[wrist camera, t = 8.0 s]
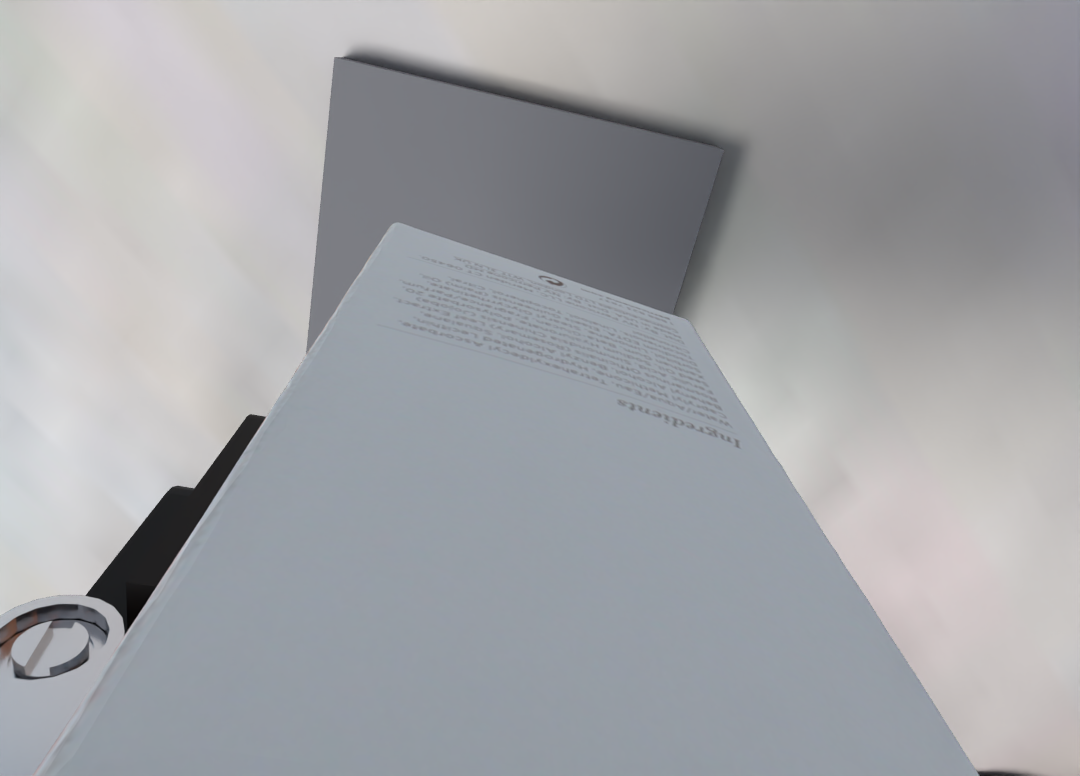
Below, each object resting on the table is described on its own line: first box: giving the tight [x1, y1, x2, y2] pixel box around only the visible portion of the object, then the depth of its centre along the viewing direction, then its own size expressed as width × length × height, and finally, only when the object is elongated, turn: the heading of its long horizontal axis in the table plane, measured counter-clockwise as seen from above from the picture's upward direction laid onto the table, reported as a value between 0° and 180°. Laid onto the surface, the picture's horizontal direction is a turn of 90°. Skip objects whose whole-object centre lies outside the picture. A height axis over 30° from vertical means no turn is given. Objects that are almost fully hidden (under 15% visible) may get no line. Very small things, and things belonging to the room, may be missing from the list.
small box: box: [32, 222, 979, 776], centre depth 9 cm, size 8×6×10 cm
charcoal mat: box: [306, 57, 724, 354], centre depth 25 cm, size 12×12×1 cm
